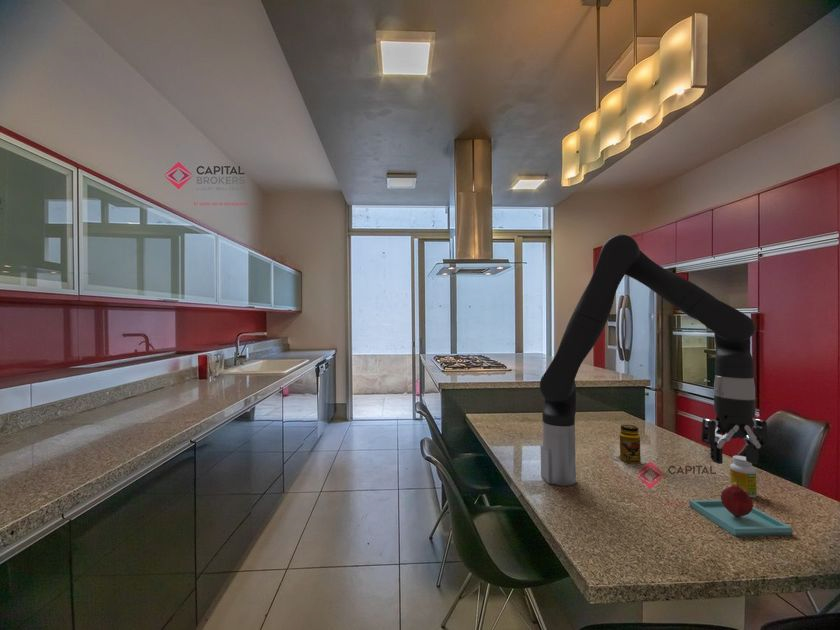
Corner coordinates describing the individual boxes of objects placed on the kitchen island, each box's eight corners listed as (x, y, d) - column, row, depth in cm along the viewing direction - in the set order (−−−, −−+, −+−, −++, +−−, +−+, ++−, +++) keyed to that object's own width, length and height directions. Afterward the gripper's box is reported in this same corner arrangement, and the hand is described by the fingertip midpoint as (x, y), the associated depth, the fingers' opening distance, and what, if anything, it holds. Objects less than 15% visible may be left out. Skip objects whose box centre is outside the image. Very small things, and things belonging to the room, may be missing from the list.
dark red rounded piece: (760, 524, 83) (758, 489, 83) (731, 522, 84) (729, 487, 84) (742, 512, 88) (741, 479, 89) (716, 509, 90) (714, 477, 90)
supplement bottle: (751, 499, 96) (750, 463, 96) (726, 491, 101) (725, 456, 101) (760, 495, 98) (759, 459, 99) (736, 487, 103) (735, 453, 103)
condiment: (632, 466, 119) (631, 430, 119) (609, 458, 126) (609, 423, 127) (647, 463, 121) (646, 427, 122) (624, 455, 129) (623, 421, 130)
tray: (735, 536, 79) (735, 529, 79) (689, 506, 92) (689, 500, 92) (792, 535, 80) (792, 527, 80) (738, 505, 93) (738, 499, 93)
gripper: (718, 398, 83) (719, 469, 83) (778, 398, 83) (779, 469, 83) (693, 392, 90) (693, 456, 90) (748, 392, 91) (748, 456, 90)
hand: (734, 462), depth 86 cm, fingers open, 8 cm apart
